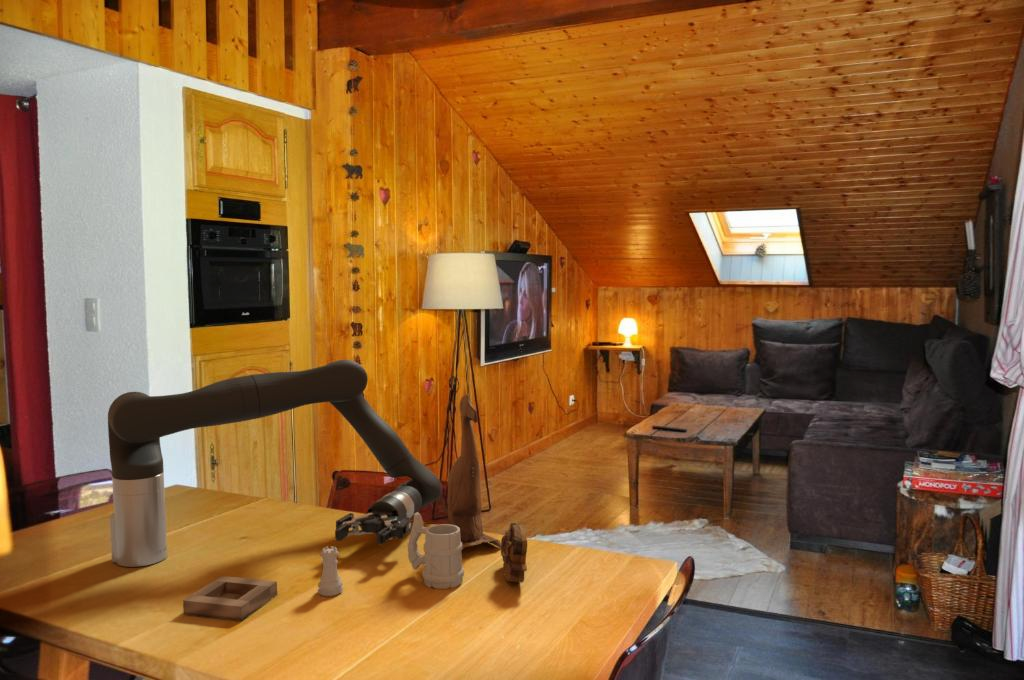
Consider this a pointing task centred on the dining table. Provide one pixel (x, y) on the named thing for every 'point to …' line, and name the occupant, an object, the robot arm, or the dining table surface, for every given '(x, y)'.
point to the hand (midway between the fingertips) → (358, 537)
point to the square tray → (230, 598)
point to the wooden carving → (514, 553)
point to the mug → (437, 553)
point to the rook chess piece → (329, 573)
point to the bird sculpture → (467, 484)
